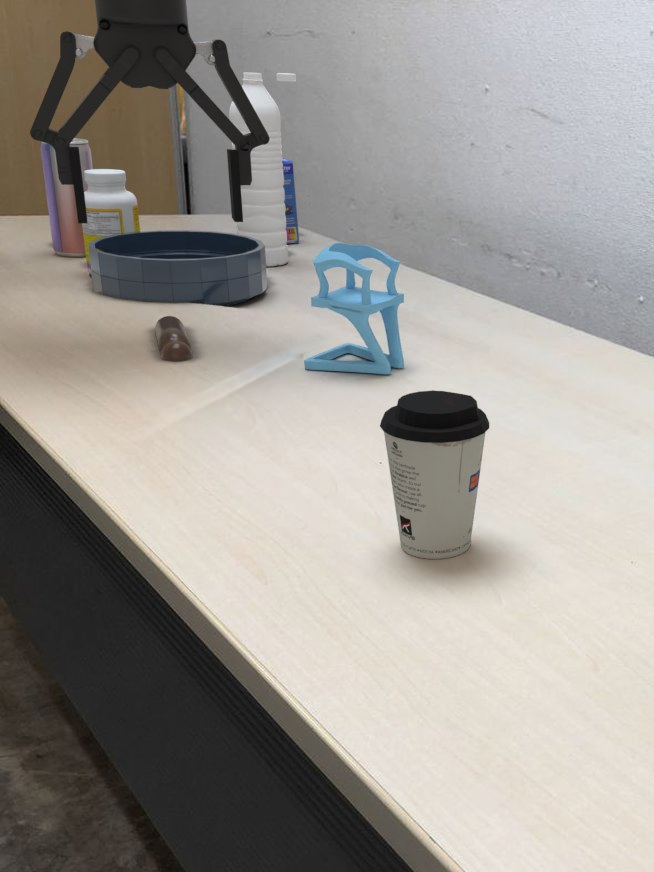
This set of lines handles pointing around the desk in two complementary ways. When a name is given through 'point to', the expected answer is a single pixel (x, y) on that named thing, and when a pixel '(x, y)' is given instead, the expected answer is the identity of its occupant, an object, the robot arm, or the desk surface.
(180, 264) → the bowl
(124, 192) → the supplement bottle
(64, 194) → the beverage can
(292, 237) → the ink cartridge box
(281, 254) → the water bottle
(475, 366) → the desk surface
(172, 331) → the chocolate candy
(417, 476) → the coffee cup
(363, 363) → the chair
